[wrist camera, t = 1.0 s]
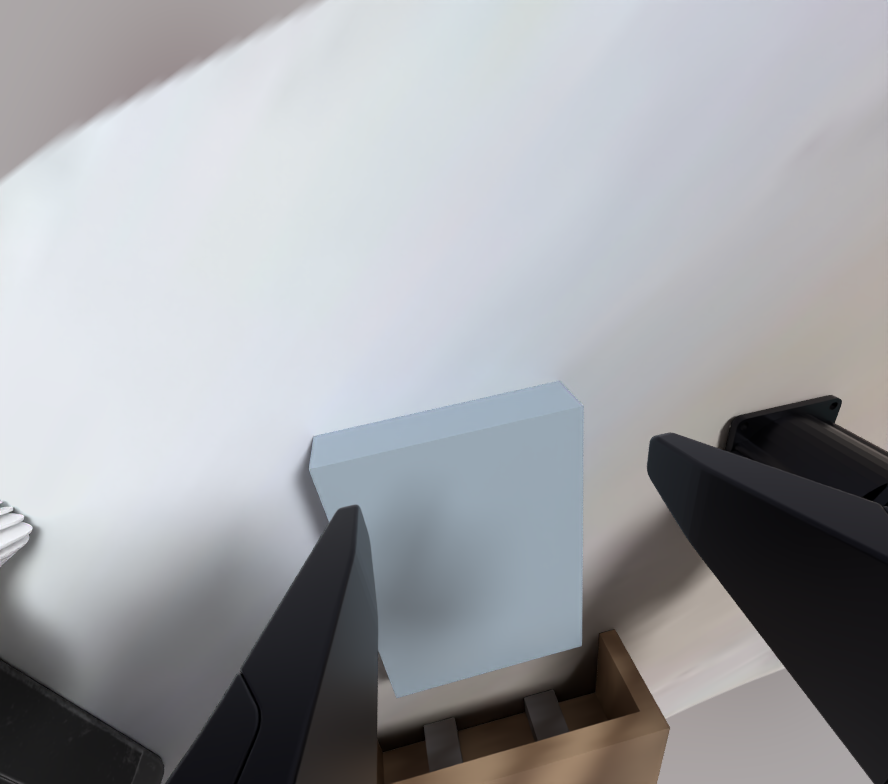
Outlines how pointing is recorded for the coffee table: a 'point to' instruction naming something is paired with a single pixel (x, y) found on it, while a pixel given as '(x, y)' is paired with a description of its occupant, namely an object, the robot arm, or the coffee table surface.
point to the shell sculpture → (12, 533)
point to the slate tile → (467, 530)
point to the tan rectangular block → (548, 738)
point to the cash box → (63, 741)
